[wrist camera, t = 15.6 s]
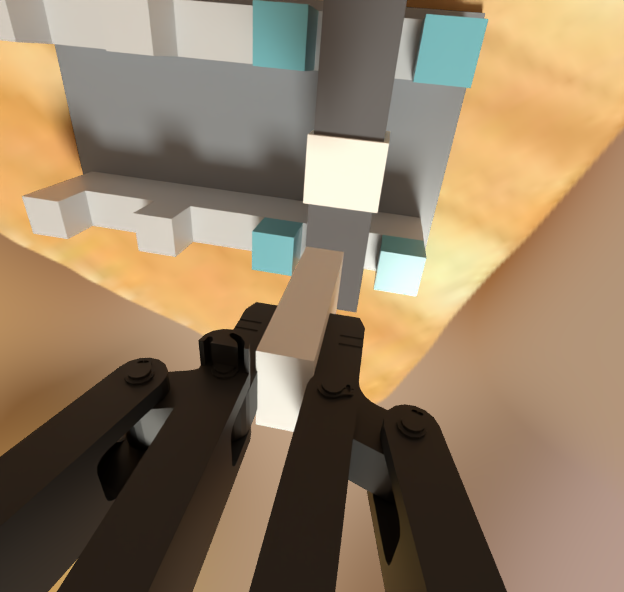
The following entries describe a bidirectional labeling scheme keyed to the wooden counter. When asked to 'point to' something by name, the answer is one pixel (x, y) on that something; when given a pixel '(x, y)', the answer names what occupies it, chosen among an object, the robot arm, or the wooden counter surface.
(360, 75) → the grey banded pillar
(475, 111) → the wooden counter surface
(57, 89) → the wooden counter surface
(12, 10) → the grey peg rack
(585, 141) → the wooden counter surface
